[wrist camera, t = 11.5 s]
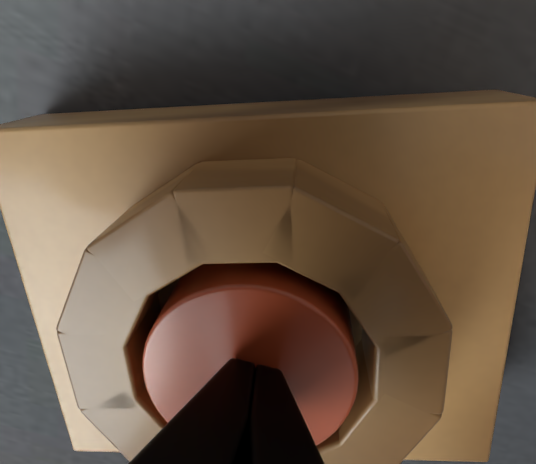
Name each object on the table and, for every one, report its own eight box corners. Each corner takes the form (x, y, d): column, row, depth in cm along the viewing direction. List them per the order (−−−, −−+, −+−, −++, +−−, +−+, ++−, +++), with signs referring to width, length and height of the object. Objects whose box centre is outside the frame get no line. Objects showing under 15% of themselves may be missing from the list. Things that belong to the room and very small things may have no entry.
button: (350, 236, 8) (361, 283, 6) (349, 393, 9) (357, 464, 8) (158, 240, 8) (122, 286, 7) (183, 391, 10) (158, 459, 8)
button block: (498, 88, 9) (628, 115, 5) (459, 394, 12) (525, 545, 8) (41, 113, 10) (-112, 150, 6) (109, 390, 13) (30, 523, 9)
